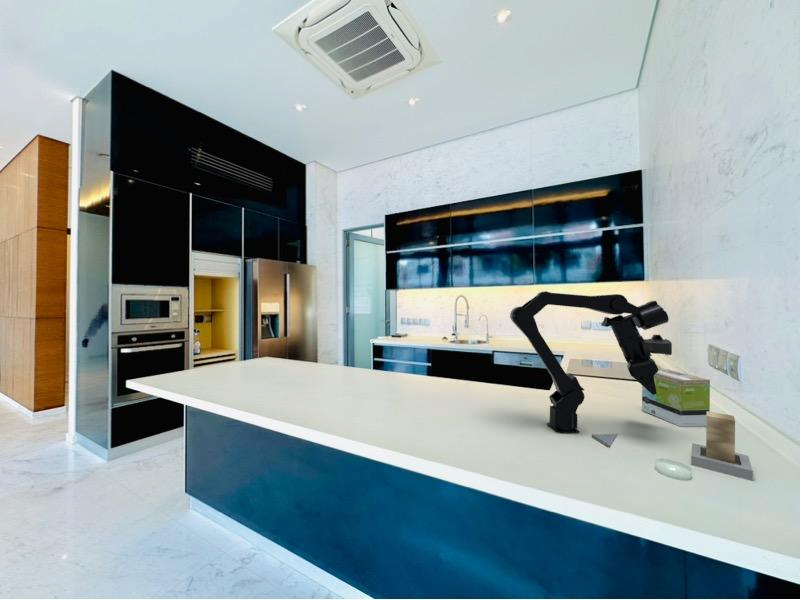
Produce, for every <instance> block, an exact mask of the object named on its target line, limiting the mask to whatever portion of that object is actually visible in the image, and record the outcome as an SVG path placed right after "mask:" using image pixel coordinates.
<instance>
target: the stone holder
mask: <svg viewBox="0 0 800 600" xmlns="http://www.w3.org/2000/svg"><path fill="white" fill-rule="evenodd" d="M691 445H692V446H691V455H690V459H691V460H690V461H691V462H690V463H691V466H695V467H696V468H697V467H698V468H700V469H701V468H702V469H704V470H708V471H714V472H717V473H721V474H724V475H729V476H732V477H736V478H741V479H743V480H746V481H747V480H748V481H754V470H753V467H752V463H751V461H750V458H749V457H750V456H749V455H748V454H742V453H739V452H735V464H732V463H728V462H724V461H720V460H716V459H711V458H707V457H706V445H703V444H699V443H693V442H692V443H691Z"/></svg>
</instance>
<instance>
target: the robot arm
mask: <svg viewBox="0 0 800 600" xmlns="http://www.w3.org/2000/svg"><path fill="white" fill-rule="evenodd" d="M548 305H549V306H561V307H570V308H581V309H588V310H592V311H595V312H599V313H601V314H607V315H613V317H608V316H605V317H604V318H603V321H602V322H601V327H605V328H607V327H610V329H611V330H612V331H613V332H612V333H613V334H614V336H615V338H616V341H617V344H618V346H619V348H620V350H621V352H622V355H623V357H624V359H625V361H626V362H627V365H626V368H627V370H628V372H629V375H630V377H632V378H633V379H634V380H636V381H637V382H638V383H639V384H640V385H641V387H642V386H644V387H645V388H646V389H647V390H648V391H649V392H650V393H651V394H652V395H654V394H657V392H656V387H655V381H654V375H655V374H656V373H657V372H658V370H660V368H658V366H657V363H656V362H655V359H653V358H651V357H652V354H653V355H654V354H657V355H658V354H659V355H666V356H671V355H673V349H672V348H673V343H672V342H671V340H669V339H667V338H664V339H663V337H662V335H661V334H653V335H652V336H651V338H648V339H647V338H646V339H645V338H644V337H643V335H641V334H640V331H639V330H638V329H642V330H644V331H646V330H650V329H652V328H653V329H654V328H655V327H656V328H657V327H658V326H661V325H664V324H667V323H668V322H669V315H668V313H667V311H666V310H664V308H663V307H662V306H661V305H659V303H658V302H657V300H650V301H647V302H646V303H644V304H641V305H638V306H636V305H634V304H633V303H631V302H629V301H628V299H627V298H626V296H625V295H623V294H619V293H618V294H617V293H616V294H614V293H613V294H600V295H599V294H598V295H583V294H572V293H571V294H570V293H559V292H550V291H545V290H544V291H540V292H538V293H537V294H536V295H535V296H534V297H533V298H531V299H530V300H528V301H527V302H525V303H524V304H523V305H521V306H516V307H514V308H512V309H511V311H510V314H509V318H510V320H511V322H512V323H513V324H514V325H515V326H516V327H517V328H518V330H519V331H521V333H522V334H523V335H524V336H525V337H526V338H527V340H528V341H529V343H530V344H531V346H532V348H533V349H534V351H535V352H536V354H537V356H538V357H539V359H540V361H541V362H542V364H543V365H544V367H545V369H546V370H547V371H548V373H549V375H550V376H551V379H552V382H553V385H554V387H555V391H554V392H553V393H551V394H550V395H549V397H548V398H549V400H550V403H551V404H552V405H550V406H549V422H547V423H546V425H547V427H549V428H551V429H552V430H554V431H555V432H556V433H558V434H559V433H560V434H561V433H562V434H564V433H566V434H571V433H574V434H578V433H580V430H578V414H577V412H578V411H577V410H578V408H579V406H580V405H581V404H583V402H584V400H585V394H584V391H585V388H583V387H582V386H581V385H580V382H579V380H578V378H577V377H576V376H575V375H573V374H572V373H571V372H570V373H568V374H567V373H566V372H565V371H564V368H563V367H562V365H561V364H560V363H559V361H558V359H557V357H556V356H555V354H554V352H553V351H552V350H551V348H550V347H549V345H548V344H547V342H546V341H545V339H544V337H543V336H542V334H541V332H540V331H539V328H538V325H537V321H536V319H535V316H536V315H537V314H539V313H540V312H541V311H542V310H543V309H544V308H545V307H546V306H548ZM623 314H628V315H625V316H623ZM614 315H616V316H614Z"/></svg>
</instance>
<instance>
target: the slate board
mask: <svg viewBox="0 0 800 600" xmlns="http://www.w3.org/2000/svg"><path fill="white" fill-rule="evenodd" d="M618 437H619V433H608V434H607V433H603V434H602V433H601V434H600V433H595V434H594V433H593V434H591V438H593V440H595V441H597V442H599V443H601V444H602V445H603V444H604V445H603V446H605V447H606V448H608V447H609V448H608V449H611V447H612V446H613V443H614V442H615V441H616V439H617V438H618Z"/></svg>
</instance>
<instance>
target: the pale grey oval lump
mask: <svg viewBox="0 0 800 600" xmlns="http://www.w3.org/2000/svg"><path fill="white" fill-rule="evenodd" d="M654 461H655V470H656V472H657V473H659V474H661V475H663V476H665V477H668V478H671V479H674V480H679V481H690V480H692V473H693V470H692V468H691V467H689V466H688V465H686V464H684V463H682V462H679V461H677V460H674V459H673V460H672V459H668V458H657V459H656V460H654Z"/></svg>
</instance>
